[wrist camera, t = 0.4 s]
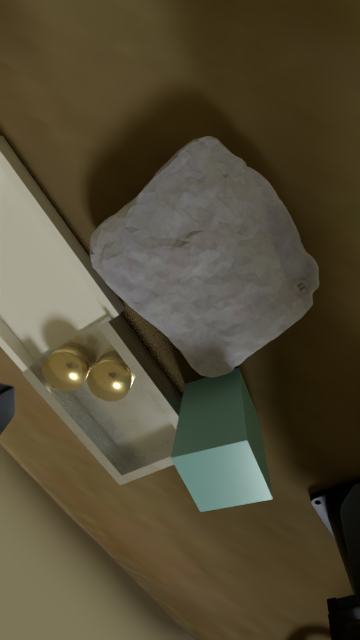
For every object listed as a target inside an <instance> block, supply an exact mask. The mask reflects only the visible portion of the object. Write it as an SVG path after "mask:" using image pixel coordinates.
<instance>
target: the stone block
mask: <svg viewBox="0 0 360 640" xmlns="http://www.w3.org/2000/svg"><path fill="white" fill-rule="evenodd" d="M90 258H91V263H92V267H93V268H94V269H95V270H96V272H97V273H98V274H99V275H100V276H101V277H102V279H103V280H104V281H105V283H106V284H107V285H108V286H109V287H110V288H111V289H112V290H113V291H114V292H115V293H116V294H117V295H118V296H119V297H120V298H122V299H123V300H124V301H125V302H126V303H127V304H128V305H129V306H130V307H131V308H132V309H134V310H135V311H136V312H137V313H138V314H139V315H141V316H142V317H143V318H144V319H146V320H147V321H149V322H150V323H151V324H153V325H154V326H155V327H156V328H158V329H159V330H160V331H161V332H162V333H163V334H164V335H166V336H167V337H168V338H169V340H170V341H171V342H172V343H173V345H174V346H175V347H177V348H178V349H179V350H180V351H181V353H182V354H183V356H184V357H185V359H186V360H187V361H188V363H189V364H190V366H191V367H192V368H193V369H194V370H195V371H196V372H198V373H199V374H200V375H201V376H207V377H211V378H214V377H218V376H222V375H225V374H228V373H230V372H231V371H233V369H234V368H235V367H236V366H238V365H240V364H241V363H242V362H243V361H244V360H245V359H246V358H247V357H249V356H250V355H252V354H253V353H254V352H256V351H257V350H259V349H260V348H262V347H263V346H264V345H266V344H267V343H268V342H270V341H271V340H273V339H275V338H277V337H278V336H279V335H280V334H282V333H283V332H284V331H285V330H286V329H288V328H289V327H290V326H292V325H293V324H294V323H295V322H297V321H298V320H299V319H301V318H302V317H303V316H304V315H305V313H306V312H307V311H308V310H309V309H310V308H311V306H312V305H313V298H312V295H313V292H314V291H315V290H316V289H318V288H319V284H320V283H319V267H318V265H317V263H316V261H315V260H314V258H313V257H312V256H311V255H310V254H308V253H307V252H306V251H305V249H304V247H303V245H302V243H301V240H300V235H299V233H298V230H297V228H296V226H295V223H294V222H293V220H292V218H291V216H290V214H289V212H288V210H287V208H286V207H285V205H284V204H283V202H282V201H281V200H280V199H279V197H278V195H277V193H276V192H275V190H274V189H273V187H272V185H271V184H270V183H269V181H268V180H267V179H266V178H265V177H263V176H262V175H261V174H259V173H258V172H257V171H255V170H254V169H252V168H250V167H248V166H247V165H246V163H245V162H244V160H243V159H242V158H240V157H237V156H235V155H234V154H232V153H231V152H230V151H229V150H228V149H227V148H226V147H225V146H224V145H223V144H222V143H221V142H220V141H219V140H218V139H217V138H216V137H215V138H213V137H212V136H206V137H201V138H197V139H194V140H192V141H190V142H189V143H187V144H186V145H185V146H184V147H182V148H181V149H180V150H178V151H177V152H176V153H175V154H174V156H173V157H172V158H171V159H169V160H168V162H167V163H166V164H164V165H163V166H162V167H161V168H160V170H158V171H157V172H156V173H155V176H154V177H153V178H152V179H151V181H150V182H149V183H148V184H147V185H145V187H144V188H143V190H142V191H141V192H140V193H139V195H138V196H137V197H136V198H134V199H133V200H132V201H130V202H129V203H128V204H126V205H125V206H124V207H122V208H121V209H120V210H119V211H118V212H117V213H116V214H114V215H112V216H110V217H109V218H107V219H106V220H104V221H103V222H102V223H101V224H100V225H99V226H98V227H97V229H96V230H95V231H94V232H93V233H92V234H91V239H90Z"/></svg>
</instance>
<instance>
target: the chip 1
mask: <svg viewBox="0 0 360 640" xmlns="http://www.w3.org/2000/svg"><path fill="white" fill-rule="evenodd" d="M93 366H94V361H93V358H92V355H91V354H90V352H89V351H88V350H87V349H86V348H85V347H83V346H82V345H79V344H77V343H65V344H63V345H61V346H60V347H59V348H57V349H56V350H55V351H54V352H53V353H52V354H51V355H49V356H48V357H47V358H46V359H45V360H44V362H43V365H42V373H43V376H44V378H45V380H46V381H47V382H48V383H49V384H50V385H51V386H52V387H54V388H55V389H57V390H60V391H64V392H70V391H74V390H76V389H78V388H79V387H80V386H81V385H82V383H83V382H84V381H85V380H86V378H87V376H88V373H89V371H90V370H91V369H92V367H93Z"/></svg>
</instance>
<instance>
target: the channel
mask: <svg viewBox="0 0 360 640" xmlns="http://www.w3.org/2000/svg"><path fill="white" fill-rule="evenodd" d="M65 343H77V344H79V345H82V346H83V347H85V348H86V349H87V350H88V351H89V352H90V354H91V355H92V358H93V361H94V365H95V364H96V362H97V361H98V360H99V359H100V357H101V356H102V355H104V354H106V353H108V352H118V354H119V355H120V356H121V358H122V359H123V360H124V362H125V363H126V364H127V366H128V367H129V368H130V370H131V371H132V372H133V373H134V375H135V376H136V377H135V379H134V381H133V383H132V385H131V387H130V389H129V391H128V393H127V395H126V396H125V397H124V398H123V399H121V400H119V401H115V402H109V401H104V400H102V399H100V398H98V397H96V396H95V395H94V394H93V393H92V392H91V390H90V389H89V387H88V384H87V378H86V380H85V381H84V382H83V383H82V385H81V386H80V387H79V388H78V389H76V390H74V391H70V392H64V391H60V390H57V389H55V388H54V387H52V386H51V385H50V384H49V383H48V382H47V381H46V380H45V378H44V376H43V373H42V365H43V362H44V360H45V359H46V358H47V357H48V356H49V355H51V354H52V353H53V352H54V351H55V350H56V349H57V348H59V347H60V346H61V345H60V346H59V347H57V348H55V349H54V350H52V351H51V352H49V353H47V354H46V355H44V356H42V357H41V358H39V359H38V360H36V361H35V362H34V363H33V364H31V365H30V366H29V367H28V368H26V369H25V370H24V371H23V372H22V375H23V376H24V377H25V378H26V379H27V380H28V381H29V383H30V384H31V385H32V386H33V387H34V388H35V389H36V390H37V392H38V393H39V394H40V395H41V396H42V397H43V398H44V400H45V401H46V402H47V403H48V404H49V405H50V406H51V408H52V409H53V410H54V411H55V412H56V413H57V414H58V416H59V417H60V418H61V419H62V420H63V421H64V422H65V423H66V425H67V426H68V427H69V428H70V429H71V430H72V431H73V433H74V434H75V435H76V436H77V437H78V438H79V439H80V441H81V442H82V443H83V444H84V445H85V446H86V447H87V448H88V450H89V451H90V452H91V453H92V454H93V455H94V456H95V458H96V459H97V460H98V461H99V462H100V463H101V464H102V466H103V467H104V468H105V469H106V470H107V471H108V472H109V474H110V475H111V476H112V477H113V478H114V479H115V480H116V481H117V483H118V484H119V485H122V484H125V483H127V482H130V481H132V480H135V479H138V478H140V477H143V476H145V475H148V474H151V473H153V472H156V471H158V470H161V469H164V468H166V467H169V466H171V465H174V463H173V461H172V459H171V454H172V449H173V444H174V439H175V433H176V428H177V423H178V418H179V413H180V408H181V403H182V397H181V396H180V395H179V393H178V392H177V390H176V389H175V388H174V386H173V385H172V384H171V382H170V381H169V379H168V378H167V377H166V375H165V374H164V372H163V371H162V370H161V368H160V367H159V366H158V364H157V363H156V361H155V360H154V359H153V357H152V356H151V354H150V353H149V352H148V350H147V349H146V348H145V346H144V345H143V343H142V342H141V341H140V339H139V338H138V337H137V335H136V334H135V332H134V331H133V330H132V328H131V327H130V325H129V324H128V323H127V321H126V320H125V319H124V317H123V316H122V314H121V313H120V314H119V315H118V316H116V317H115V318H113V319H112V317H110V316H107V317H105V318H104V319H102V320H101V321H99V322H97V323H96V324H94V325H93V326H91V327H89V328H88V329H86V330H84V331H83V332H81V333H80V334H78V335H76V336H75V337H73V338H72V339H70V340H68V341H67V342H65ZM65 343H63V344H65ZM63 344H62V345H63Z"/></svg>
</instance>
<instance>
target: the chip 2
mask: <svg viewBox="0 0 360 640" xmlns="http://www.w3.org/2000/svg"><path fill="white" fill-rule="evenodd" d="M135 377H136V376H135V375H134V373H133V372H132V371H131V370H130V368H129V367H128V366H127V364H126V363H125V362H124V360H123V359H122V358H121V356H120V355H119V354H118V352H108V353H106V354H104V355H102V356H101V357H100V359H99V360H98V361H97V362H96V364H95V365H94V366H93V367H92V369H91V370H90V371H89V373H88V376H87V384H88V387H89V389H90V390H91V392H92V393H93V394H94V395H95V396H96V397H98V398H100V399H102V400H104V401H109V402H115V401H119V400H121V399H123V398H124V397H125V396H126V395H127V393H128V391H129V389H130V387H131V385H132V383H133V381H134V379H135Z"/></svg>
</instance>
